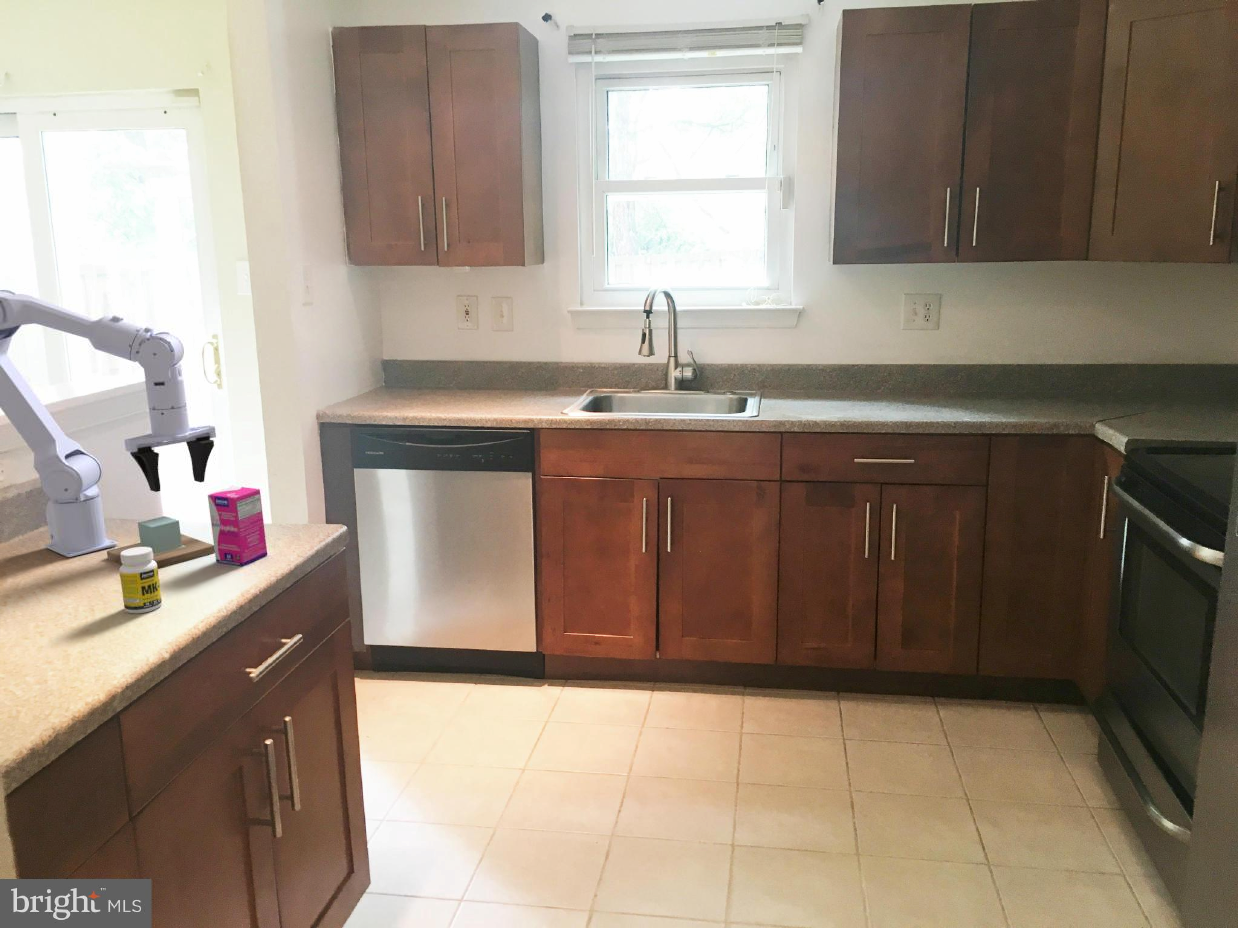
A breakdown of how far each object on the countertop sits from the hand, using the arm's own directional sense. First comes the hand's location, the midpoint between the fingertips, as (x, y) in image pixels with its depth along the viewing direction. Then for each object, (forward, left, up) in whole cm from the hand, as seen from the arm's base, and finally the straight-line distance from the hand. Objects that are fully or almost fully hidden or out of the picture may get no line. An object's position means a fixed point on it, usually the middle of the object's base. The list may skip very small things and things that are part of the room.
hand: (177, 485), depth 160 cm
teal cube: (+4, -6, -9) cm, 11 cm away
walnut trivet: (+4, -6, -10) cm, 12 cm away
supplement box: (+17, +1, -10) cm, 20 cm away
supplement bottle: (+25, -19, -10) cm, 33 cm away
